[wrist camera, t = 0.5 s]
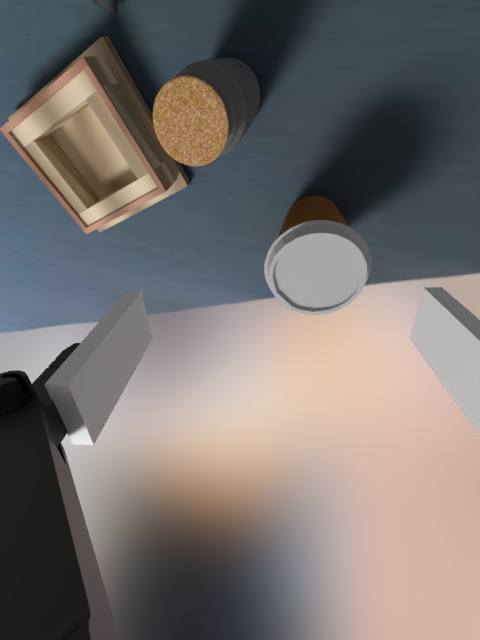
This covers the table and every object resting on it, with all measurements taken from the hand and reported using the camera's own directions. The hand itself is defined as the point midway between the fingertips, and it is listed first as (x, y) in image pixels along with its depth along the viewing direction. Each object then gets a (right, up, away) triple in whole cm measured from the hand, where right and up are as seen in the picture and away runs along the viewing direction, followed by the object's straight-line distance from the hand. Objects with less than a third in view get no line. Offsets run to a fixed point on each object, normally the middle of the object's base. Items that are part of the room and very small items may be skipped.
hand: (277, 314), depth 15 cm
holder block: (-17, +19, +20) cm, 32 cm away
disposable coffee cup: (+7, +11, +22) cm, 26 cm away
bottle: (-3, +21, +15) cm, 26 cm away
